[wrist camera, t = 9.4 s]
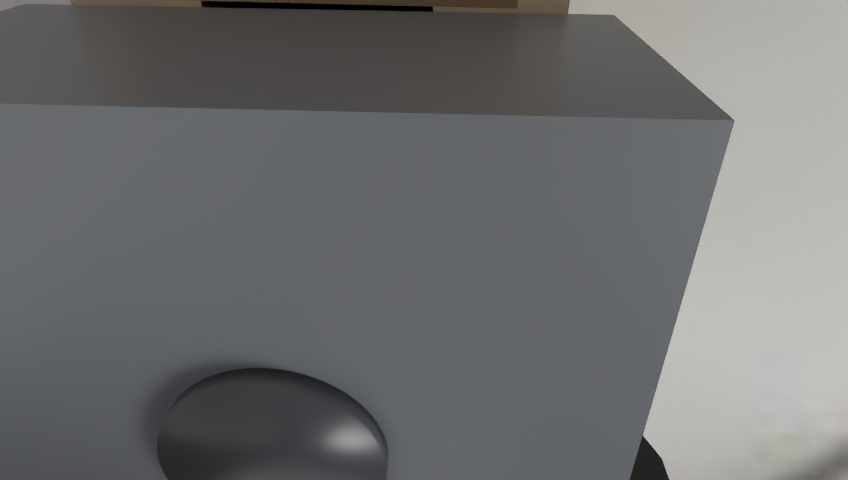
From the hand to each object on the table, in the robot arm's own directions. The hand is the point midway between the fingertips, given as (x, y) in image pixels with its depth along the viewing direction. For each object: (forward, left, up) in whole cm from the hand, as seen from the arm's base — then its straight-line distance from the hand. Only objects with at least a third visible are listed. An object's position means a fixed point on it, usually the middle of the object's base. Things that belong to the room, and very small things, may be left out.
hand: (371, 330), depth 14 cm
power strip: (+1, 0, +1) cm, 1 cm away
